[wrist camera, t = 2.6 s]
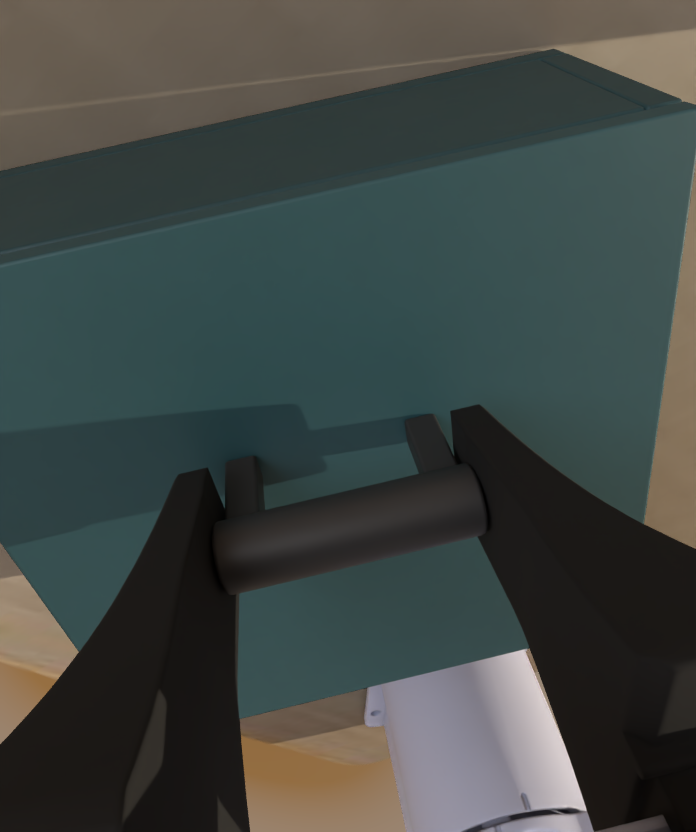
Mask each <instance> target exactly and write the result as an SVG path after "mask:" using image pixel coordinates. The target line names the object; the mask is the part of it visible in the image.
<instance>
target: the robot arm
mask: <svg viewBox="0 0 696 832" xmlns="http://www.w3.org/2000/svg"><path fill="white" fill-rule="evenodd" d="M450 414H451V426H452V438H453V449H454V457H455V460H456V462H457V464H463V463H467V464H469V465H470V466H471V467H472V468H473V470H474V471H475V473H476V475H477V478H478V480H479V483H480V485H481V488H482V492H483V495H484V499H485V503H486V508H487V514H488V531H487V533H486V534H484V535H482V536H478V539H479V541H480V543H481V545H482V547H483V549H484V551H485V553H486V555H487V557H488V559H489V561H490V563H491V565H492V567H493V569H494V571H495V573H496V575H497V577H498V579H499V581H500V583H501V585H502V587H503V589H504V591H505V593H506V595H507V597H508V599H509V601H510V603H511V605H512V607H513V609H514V612H515V614H516V616H517V618H518V621H519V623H520V625H521V627H522V630H523V632H524V635H525V637H526V640H527V643H528V645H529V648H530V651H531V653H532V656H533V659H534V661H535V664H536V666H537V669H538V672H539V674H540V677H541V680H542V683H543V685H544V688H545V691H546V693H547V696H548V699H549V702H550V705H551V707H552V710H553V713H554V716H555V719H556V721H557V724H558V727H559V730H560V733H561V735H560V733H559V730H558V728H557V726H556V723H555V721H554V719H553V716H552V714H551V712H550V709H549V707H548V704H547V702H546V700H545V697H544V695H543V692H542V690H541V688H540V686H539V683H538V681H537V678H536V676H535V673H534V671H533V669H532V666H531V664H530V662H529V659H528V657H527V654H526V651H527V649H524V650H520V651H516V652H512V653H508V654H504V655H500V656H496V657H491V658H487V659H483V660H479V661H475V662H471V663H467V664H463V665H459V666H455V667H450V668H446V669H442V670H438V671H434V672H430V673H426V674H422V675H418V676H414V677H409V678H405V679H401V680H397V681H393V682H389V683H385V684H381V685H377V686H373V687H369V688H367V696H366V705H365V714H364V720H365V725H366V726H368V727H377V726H384V727H385V732H386V737H387V742H388V746H389V751H390V756H391V761H392V765H393V770H394V775H395V780H396V785H397V789H398V793H399V799H400V804H401V809H402V814H403V818H404V823H405V828H406V832H696V549H694V548H692V547H690V546H688V545H685V544H683V543H681V542H679V541H677V540H675V539H673V538H671V537H669V536H667V535H665V534H663V533H661V532H659V531H656V530H654V529H652V528H650V527H648V526H646V525H644V524H642V523H641V522H639V521H637V520H635V519H633V518H631V517H630V516H628V515H626V514H624V513H623V512H621V511H619V510H618V509H616V508H614V507H612V506H611V505H609V504H607V503H606V502H604V501H603V500H601V499H599V498H598V497H596V496H595V495H593V494H592V493H590V492H589V491H587V490H586V489H584V488H583V487H581V486H580V485H578V484H577V483H576V482H574V481H573V480H571V479H570V478H568V477H567V476H566V475H564V474H563V473H562V472H560V471H559V470H557V469H556V468H555V467H553V466H552V465H551V464H550V463H548V462H547V461H546V460H545V459H543V458H542V457H541V456H539V455H538V454H537V453H536V452H534V451H533V450H532V449H531V448H529V447H528V446H527V445H526V444H525V443H523V442H522V441H521V440H520V439H519V438H518V437H516V436H515V435H514V434H513V433H512V432H511V431H509V430H508V429H507V428H506V427H505V426H504V425H503V424H502V423H500V422H499V421H498V420H497V419H496V418H495V417H494V416H493V415H492V414H491V413H490V412H489V411H488V410H486V409H485V408H484V407H483V406H481V405H480V404H477V405H473V406H469V407H465V408H460V409H456V410H452V411H450ZM221 520H225V508H224V506H223V503H222V501H221V499H220V496H219V494H218V491H217V489H216V486H215V484H214V482H213V479H212V477H211V474H210V472H209V470H208V467H207V468H203V469H198V470H194V471H190V472H186V473H181V474H178V476H177V477H176V478H175V480H174V483H173V485H172V487H171V489H170V492H169V494H168V496H167V499H166V501H165V503H164V505H163V508H162V510H161V512H160V514H159V516H158V519H157V521H156V523H155V525H154V527H153V529H152V531H151V533H150V535H149V537H148V539H147V541H146V543H145V545H144V547H143V549H142V551H141V553H140V555H139V557H138V559H137V561H136V563H135V565H134V567H133V568H132V570H131V572H130V574H129V575H128V577H127V579H126V581H125V582H124V584H123V586H122V588H121V589H120V591H119V593H118V595H117V596H116V598H115V600H114V601H113V603H112V604H111V606H110V608H109V609H108V611H107V612H106V614H105V615H104V617H103V619H102V620H101V622H100V623H99V625H98V626H97V627H96V629H95V630H94V632H93V633H92V635H91V636H90V638H89V639H88V641H87V642H86V643H85V645H84V646H83V647H82V649H81V650H80V651H79V653H78V654H77V655H76V657H75V658H74V659H73V661H72V662H71V663H70V665H69V666H68V667H67V669H66V670H65V671H64V672H63V674H62V675H61V676H60V678H59V679H58V680H57V681H56V683H55V684H54V685H53V686H52V688H51V689H50V690H49V691H48V692H47V694H46V695H45V696H44V697H43V698H42V699H41V700H40V702H39V703H38V704H37V705H36V706H35V707H34V709H33V710H32V711H31V712H30V713H29V714H28V715H27V716H26V717H25V719H24V720H23V721H22V722H21V723H20V724H19V725H18V726H17V727H16V729H14V730H13V732H12V733H11V734H10V735H9V736H8V737H7V738H6V739H5V740H4V741H3V742H2V743H1V744H0V832H250V827H249V817H248V808H247V799H246V791H245V790H246V789H245V779H244V767H243V756H242V745H241V733H240V720H239V707H238V636H239V594H235V595H229V594H227V593H226V592H225V590H224V589H223V587H222V585H221V583H220V580H219V577H218V574H217V571H216V567H215V562H214V557H213V550H212V529H213V525H214V524H215V523H216V522H218V521H221ZM561 736H562V738H561ZM562 739H563V740H562ZM564 744H565V745H564Z"/></svg>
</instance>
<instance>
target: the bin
mask: <svg viewBox="0 0 696 832" xmlns="http://www.w3.org/2000/svg"><path fill="white" fill-rule="evenodd" d="M680 102H682V100H681V99H679V98H677V97H674V96H672V95H669V94H667V93H664V92H662V91H659V90H657V89H654V88H652V87H649V86H647V85H644V84H642V83H639V82H637V81H634V80H632V79H629V78H627V77H624V76H622V75H619V74H617V73H614V72H612V71H609V70H607V69H604V68H602V67H599V66H597V65H594V64H592V63H589V62H587V61H584V60H582V59H579V58H577V57H574V56H572V55H569V54H565V53H564V52H561V51H559V50H556V49H551V50H546V51H542V52H537V53H533V54H528V55H524V56H519V57H515V58H510V59H506V60H501V61H497V62H492V63H488V64H483V65H478V66H474V67H469V68H465V69H460V70H456V71H451V72H447V73H442V74H438V75H433V76H429V77H424V78H420V79H415V80H411V81H406V82H401V83H397V84H392V85H388V86H383V87H379V88H374V89H370V90H365V91H361V92H356V93H352V94H347V95H343V96H338V97H334V98H329V99H324V100H320V101H315V102H311V103H306V104H302V105H297V106H293V107H288V108H284V109H279V110H275V111H270V112H266V113H261V114H257V115H252V116H247V117H243V118H238V119H234V120H229V121H225V122H220V123H216V124H211V125H207V126H202V127H198V128H193V129H189V130H184V131H180V132H175V133H171V134H166V135H161V136H157V137H152V138H148V139H143V140H139V141H134V142H130V143H125V144H121V145H116V146H112V147H107V148H103V149H98V150H94V151H89V152H84V153H80V154H75V155H71V156H66V157H62V158H57V159H53V160H48V161H44V162H39V163H35V164H30V165H26V166H21V167H17V168H12V169H7V170H3V171H0V255H2V254H6V253H10V252H15V251H19V250H24V249H28V248H33V247H37V246H42V245H46V244H51V243H55V242H60V241H64V240H68V239H73V238H77V237H82V236H86V235H91V234H95V233H100V232H104V231H109V230H113V229H118V228H122V227H126V226H131V225H135V224H140V223H144V222H149V221H153V220H158V219H162V218H167V217H171V216H176V215H180V214H185V213H189V212H193V211H198V210H202V209H207V208H211V207H216V206H220V205H225V204H229V203H234V202H238V201H243V200H247V199H251V198H256V197H260V196H265V195H269V194H274V193H278V192H283V191H287V190H292V189H296V188H301V187H305V186H309V185H314V184H318V183H323V182H327V181H332V180H336V179H341V178H345V177H350V176H354V175H359V174H363V173H368V172H372V171H376V170H381V169H385V168H390V167H394V166H399V165H403V164H408V163H412V162H417V161H421V160H426V159H430V158H434V157H439V156H443V155H448V154H452V153H457V152H461V151H466V150H470V149H475V148H479V147H484V146H488V145H493V144H497V143H501V142H506V141H510V140H515V139H519V138H524V137H528V136H533V135H537V134H542V133H546V132H551V131H555V130H559V129H564V128H568V127H573V126H577V125H582V124H586V123H591V122H595V121H600V120H604V119H609V118H613V117H617V116H622V115H626V114H631V113H635V112H640V111H644V110H649V109H653V108H658V107H662V106H667V105H671V104H676V103H680Z"/></svg>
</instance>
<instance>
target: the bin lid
mask: <svg viewBox="0 0 696 832" xmlns="http://www.w3.org/2000/svg"><path fill="white" fill-rule="evenodd" d="M695 164H696V105H694V104H691V103H688V102H680V103H676V104H671V105H667V106H662V107H658V108H653V109H649V110H644V111H640V112H635V113H631V114H626V115H622V116H617V117H613V118H609V119H604V120H600V121H595V122H591V123H586V124H582V125H577V126H573V127H568V128H564V129H559V130H555V131H551V132H546V133H542V134H537V135H533V136H528V137H524V138H519V139H515V140H510V141H506V142H501V143H497V144H493V145H488V146H484V147H479V148H475V149H470V150H466V151H461V152H457V153H452V154H448V155H443V156H439V157H434V158H430V159H426V160H421V161H417V162H412V163H408V164H403V165H399V166H394V167H390V168H385V169H381V170H376V171H372V172H368V173H363V174H359V175H354V176H350V177H345V178H341V179H336V180H332V181H327V182H323V183H318V184H314V185H309V186H305V187H301V188H296V189H292V190H287V191H283V192H278V193H274V194H269V195H265V196H260V197H256V198H251V199H247V200H243V201H238V202H234V203H229V204H225V205H220V206H216V207H211V208H207V209H202V210H198V211H193V212H189V213H185V214H180V215H176V216H171V217H167V218H162V219H158V220H153V221H149V222H144V223H140V224H135V225H131V226H126V227H122V228H118V229H113V230H109V231H104V232H100V233H95V234H91V235H86V236H82V237H77V238H73V239H68V240H64V241H60V242H55V243H51V244H46V245H42V246H37V247H33V248H28V249H24V250H19V251H15V252H10V253H6V254H2V255H0V543H1V544H2V546H3V547H4V548H5V550H6V551H7V552H8V554H9V555H10V557H11V558H12V559H13V561H14V562H15V564H16V565H17V566H18V568H19V569H20V571H21V572H22V573H23V575H24V576H25V578H26V579H27V580H28V582H29V583H30V584H31V586H32V587H33V589H34V590H35V591H36V593H37V594H38V596H39V597H40V598H41V600H42V601H43V603H44V604H45V605H46V607H47V608H48V610H49V611H50V612H51V614H52V615H53V616H54V618H55V619H56V621H57V622H58V623H59V625H60V626H61V628H62V629H63V630H64V632H65V633H66V635H67V636H68V637H69V639H70V640H71V642H72V643H73V644H74V646H75V647H76V648H77V650H78V651H80V650H81V649H82V647H83V646H84V645H85V643H86V642H87V641H88V639H89V638H90V636H91V635H92V633H93V632H94V630H95V629H96V627H97V626H98V625H99V623H100V622H101V620H102V619H103V617H104V615H105V614H106V612H107V611H108V609H109V608H110V606H111V604H112V603H113V601H114V600H115V598H116V596H117V595H118V593H119V591H120V589H121V588H122V586H123V584H124V582H125V581H126V579H127V577H128V575H129V574H130V572H131V570H132V568H133V567H134V565H135V563H136V561H137V559H138V557H139V555H140V553H141V551H142V549H143V547H144V545H145V543H146V541H147V539H148V537H149V535H150V533H151V531H152V529H153V527H154V525H155V523H156V521H157V519H158V516H159V514H160V512H161V510H162V508H163V505H164V503H165V501H166V499H167V496H168V494H169V492H170V489H171V487H172V485H173V483H174V480H175V478H176V477H177V476H178V474H181V473H186V472H190V471H194V470H198V469H203V468H207V467H208V470H209V472H210V474H211V477H212V479H213V482H214V484H215V486H216V489H217V491H218V494H219V496H220V499H221V501H222V503H223V506H224V508H225V520H221V521H218V522H216V523H215V524H214V525H213V529H212V550H213V557H214V562H215V567H216V571H217V574H218V577H219V580H220V583H221V585H222V587H223V589H224V590H225V592H226V593H227V594H229V595H235V594H239V636H238V707H239V719H242V718H246V717H250V716H254V715H258V714H262V713H266V712H270V711H274V710H278V709H282V708H287V707H291V706H295V705H299V704H303V703H307V702H311V701H315V700H319V699H323V698H328V697H332V696H336V695H340V694H344V693H348V692H352V691H356V690H360V689H364V688H369V687H373V686H377V685H381V684H385V683H389V682H393V681H397V680H401V679H405V678H409V677H414V676H418V675H422V674H426V673H430V672H434V671H438V670H442V669H446V668H450V667H455V666H459V665H463V664H467V663H471V662H475V661H479V660H483V659H487V658H491V657H496V656H500V655H504V654H508V653H512V652H516V651H520V650H524V649H528V648H529V645H528V643H527V640H526V637H525V635H524V632H523V630H522V627H521V625H520V623H519V621H518V618H517V616H516V614H515V612H514V609H513V607H512V605H511V603H510V601H509V599H508V597H507V595H506V593H505V591H504V589H503V587H502V585H501V583H500V581H499V579H498V577H497V575H496V573H495V571H494V569H493V567H492V565H491V563H490V561H489V559H488V557H487V555H486V553H485V551H484V549H483V547H482V545H481V543H480V541H479V539H478V536H482V535H484V534H486V533H487V531H488V514H487V508H486V503H485V499H484V495H483V492H482V488H481V485H480V483H479V480H478V478H477V475H476V473H475V471H474V470H473V468H472V467H471V466H470V465H469V464H467V463H463V464H457V462H456V460H455V457H454V449H453V438H452V426H451V414H450V411H452V410H456V409H460V408H465V407H469V406H473V405H477V404H480V405H481V406H483V407H484V408H485V409H486V410H488V411H489V412H490V413H491V414H492V415H493V416H494V417H495V418H496V419H497V420H498V421H499V422H500V423H502V424H503V425H504V426H505V427H506V428H507V429H508V430H509V431H511V432H512V433H513V434H514V435H515V436H516V437H518V438H519V439H520V440H521V441H522V442H523V443H525V444H526V445H527V446H528V447H529V448H531V449H532V450H533V451H534V452H536V453H537V454H538V455H539V456H541V457H542V458H543V459H545V460H546V461H547V462H548V463H550V464H551V465H552V466H553V467H555V468H556V469H557V470H559V471H560V472H562V473H563V474H564V475H566V476H567V477H568V478H570V479H571V480H573V481H574V482H576V483H577V484H578V485H580V486H581V487H583V488H584V489H586V490H587V491H589V492H590V493H592V494H593V495H595V496H596V497H598V498H599V499H601V500H603V501H604V502H606V503H607V504H609V505H611V506H612V507H614V508H616V509H618V510H619V511H621V512H623V513H624V514H626V515H628V516H630V517H631V518H633V519H635V520H637V521H639V522H641V523H642V524H644V520H645V513H646V506H647V499H648V492H649V485H650V478H651V471H652V464H653V457H654V450H655V443H656V436H657V429H658V422H659V415H660V408H661V401H662V394H663V387H664V380H665V373H666V366H667V359H668V352H669V345H670V338H671V331H672V324H673V317H674V310H675V303H676V296H677V289H678V283H679V276H680V269H681V262H682V255H683V248H684V241H685V234H686V227H687V220H688V213H689V206H690V199H691V192H692V185H693V178H694V171H695Z"/></svg>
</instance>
